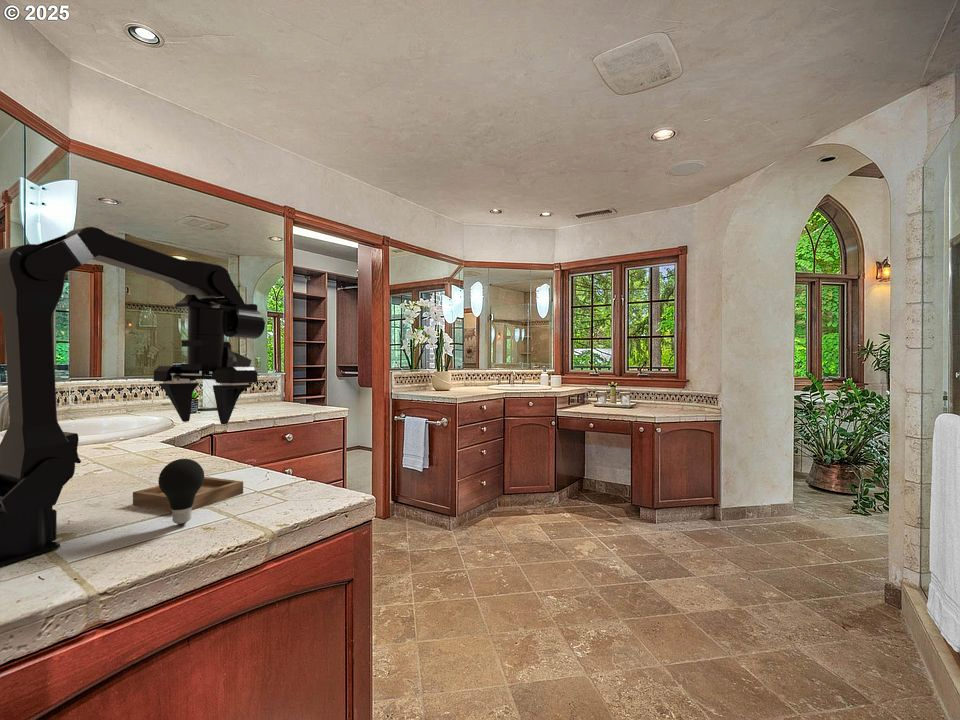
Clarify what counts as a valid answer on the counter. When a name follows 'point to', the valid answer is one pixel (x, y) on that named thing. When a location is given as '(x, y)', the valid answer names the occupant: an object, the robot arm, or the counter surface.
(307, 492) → the counter surface
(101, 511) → the counter surface
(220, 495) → the walnut tray
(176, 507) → the light bulb
